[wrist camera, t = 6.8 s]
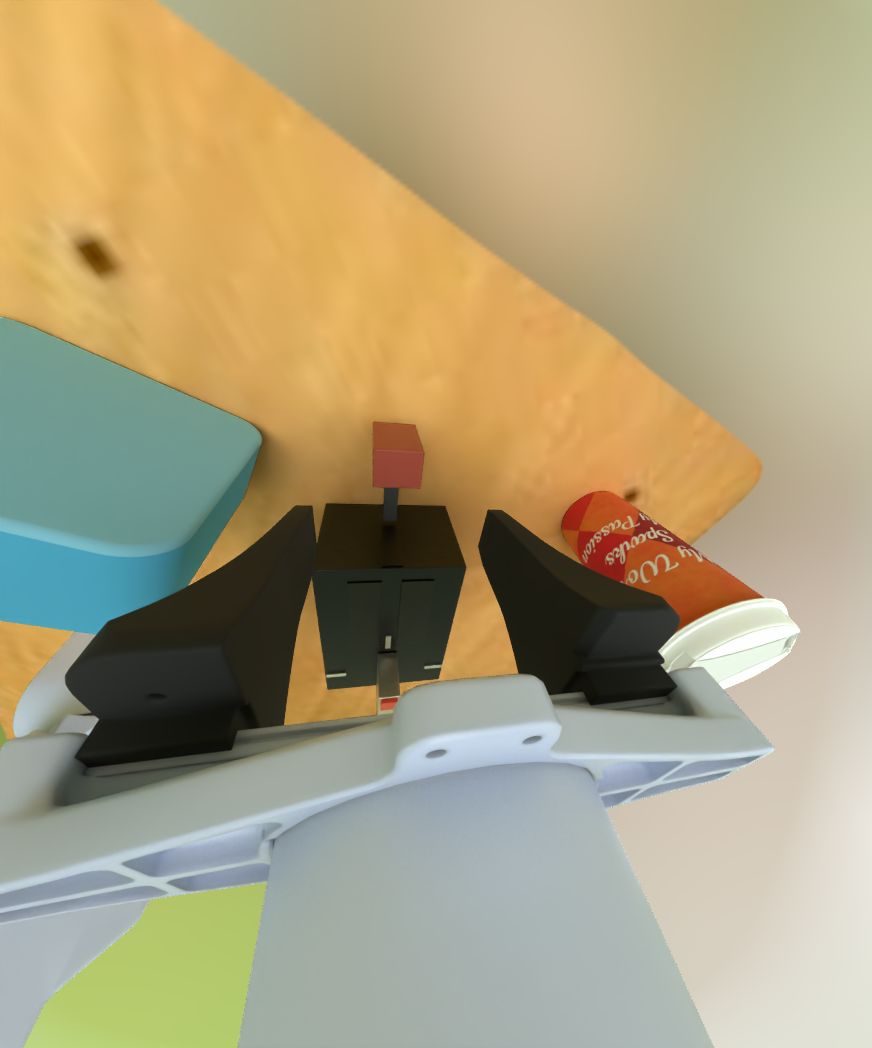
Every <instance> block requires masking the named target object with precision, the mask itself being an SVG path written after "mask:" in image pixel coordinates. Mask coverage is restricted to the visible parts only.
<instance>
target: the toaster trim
mask: <svg viewBox="0 0 872 1048" xmlns="http://www.w3.org/2000/svg"><path fill="white" fill-rule="evenodd" d="M380 520H381V546H382V567H387V566H403V561H402V552H401V544H400V535H399V526H398V517H397V520H396V521H383V515H380ZM434 582H435V580H412V581H402V587H401V598H400V608H399V619H398V630H397V641H396V645H399V644H413V643H424V638H425V633H426V627H427V621H428V616H429V610H430V605H431V599H432V593H433V588H434ZM381 592H382V581H378V582H347V594H348V614H349V634H350V648H357V647H371V646H379V642H380V617H381Z"/></svg>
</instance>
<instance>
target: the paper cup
mask: <svg viewBox="0 0 872 1048" xmlns="http://www.w3.org/2000/svg"><path fill="white" fill-rule="evenodd" d="M562 532H563V534H564V536H565V538H566V540H567V541H568V543H569V545H570V546H571V548H572V549H573V551H574V552H575V554H576V555H577V557H578V558H579V560H580V561H581V563H582V564H583V566H585V567H587V568H589V569H592V570H594V571H596V572H598V573H600V574H602V575H604V576H607V577H609V578H611V579H614V580H616V581H619V582H621V583H624V584H626V585H629V586H632V587H635V588H638V589H641V590H644V591H647V592H650V593H653V594H656V595H659V596H661V597H663V598H664V599H665V600H666V602H667V603H668V604H669V605H670V606H671V607H672V608H673V609H674V610H675V611H676V612H677V613H678V615H679V616H680V624H679V627H678V629H677V631H676V632H675V633H674V635H673V636H672V637H671V638H670V639H669V640H668V641H667V642H666V643H665V644H664V646H663V647H662V648H661V649H660V650H659V651H658V652H659V653H660V654H661V655H662V657H663V658H664V660H665V662H664V663H663V664H661V666H662V667H663V668H664V670H665V671H666V672H667V673H668V672H670V671H673V670H676V669H683V668H692V667H704V668H705V669H706V670H707V672H708V673H709V674H710V675H711V676H712V677H713V678H714V679H715V681H716V682H717V683H718V684H719V685H720V686H721V687H722V688H723V689H725V688H728V687H730V686H733V685H735V684H738V683H740V682H742V681H745V680H747V679H749V678H751V677H753V676H755V675H757V674H759V673H760V672H762V671H764V670H766V669H767V668H769V667H771V666H772V665H774V664H775V663H777V662H778V661H780V660H781V659H782V658H784V657H785V656H786V655H787V654H788V653H789V652H791V647H793V645H794V643H795V641H796V639H797V637H798V634H797V633H799V632H800V629H799V628H798V626H797V625H796V624H795V623H794V622H793V621H792V620H791V619H790V618H789V617H788V611H787V609H786V607H785V605H784V604H783V603H782V602H780V601H779V600H776V599H772V598H764V597H762V596H761V595H760V594H758V593H757V592H755V591H754V590H752V589H751V588H749V587H748V586H747V585H745V584H744V583H743V582H741V581H740V580H738V579H737V578H735V577H734V576H732V575H731V574H730V573H728V572H727V571H725V570H724V569H723V568H721V567H720V566H718V565H717V564H715V563H714V562H713V561H711V560H710V559H708V558H707V557H705V556H704V555H703V554H701V553H700V552H698V551H697V550H695V549H694V548H693V547H691V546H690V545H688V544H687V543H686V542H684V541H683V540H681V539H680V538H678V537H677V536H676V535H674V534H673V533H671V532H670V531H668V530H667V529H666V528H664V527H663V526H661V525H660V524H658V523H657V522H655V521H654V520H653V519H651V518H650V517H648V516H647V515H645V514H644V513H642V512H641V511H640V510H638V509H637V508H635V507H634V506H632V505H631V504H629V503H628V502H626V501H625V500H623V499H622V498H620V497H619V496H617V495H615V494H613V493H611V492H607V491H600V492H594V493H591V494H589V495H586V496H584V497H582V498H581V499H579V500H578V501H577V502H575V503H574V504H573V505H572V506H571V507H570V508H569V510H568V511H567V512H566V514H565V516H564V518H563V521H562Z"/></svg>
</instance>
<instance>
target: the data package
mask: <svg viewBox="0 0 872 1048" xmlns="http://www.w3.org/2000/svg"><path fill="white" fill-rule="evenodd" d="M261 443H262V436H261V434H260V432H259V431H258V430H257V429H256V428H255V427H254V426H253V425H251V424H250V423H248V422H247V421H245V420H243V419H241V418H239V417H237V416H234V415H232V414H230V413H228V412H225V411H223V410H221V409H218V408H216V407H214V406H212V405H209V404H207V403H205V402H202V401H200V400H198V399H196V398H193V397H191V396H189V395H186V394H184V393H182V392H180V391H177V390H175V389H173V388H170V387H168V386H166V385H164V384H161V383H159V382H157V381H154V380H152V379H150V378H148V377H145V376H143V375H141V374H138V373H136V372H134V371H132V370H129V369H127V368H125V367H122V366H120V365H118V364H116V363H113V362H111V361H109V360H106V359H104V358H102V357H100V356H97V355H95V354H93V353H90V352H88V351H86V350H84V349H81V348H79V347H77V346H74V345H72V344H70V343H68V342H65V341H63V340H61V339H58V338H56V337H54V336H52V335H49V334H47V333H45V332H42V331H40V330H38V329H36V328H33V327H31V326H28V325H26V324H23V323H20V322H17V321H14V320H11V319H8V318H4V317H0V621H6V622H13V623H20V624H27V625H34V626H40V627H47V628H54V629H61V630H68V631H75V632H81V633H88V634H97V633H98V632H99V631H100V630H101V628H102V627H103V626H104V625H105V624H106V623H107V622H108V621H109V620H112V619H114V618H117V617H119V616H122V615H124V614H127V613H129V612H132V611H134V610H137V609H139V608H142V607H144V606H146V605H149V604H151V603H154V602H156V601H158V600H160V599H162V598H165V597H167V596H169V595H171V594H173V593H175V592H177V591H179V590H181V589H183V588H185V587H187V586H188V585H189V583H190V582H191V580H192V579H193V577H194V575H195V574H196V572H197V571H198V569H199V567H200V566H201V564H202V563H203V561H204V560H205V558H206V556H207V555H208V553H209V552H210V550H211V548H212V547H213V545H214V544H215V542H216V540H217V539H218V537H219V536H220V534H221V533H222V531H223V529H224V528H225V526H226V525H227V523H228V521H229V520H230V518H231V517H232V515H233V513H234V512H235V510H236V509H237V507H238V506H239V504H240V502H241V501H242V499H243V498H244V496H245V493H246V490H247V486H248V483H249V480H250V477H251V474H252V471H253V468H254V465H255V462H256V459H257V455H258V452H259V449H260V446H261Z"/></svg>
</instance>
